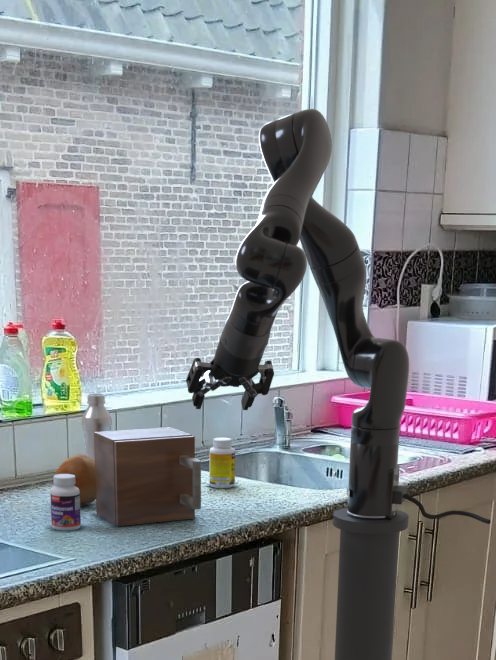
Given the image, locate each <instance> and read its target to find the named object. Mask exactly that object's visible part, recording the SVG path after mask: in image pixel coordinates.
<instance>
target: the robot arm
mask: <svg viewBox="0 0 496 660" xmlns="http://www.w3.org/2000/svg"><path fill="white" fill-rule="evenodd" d="M258 144H259V148H260V152H261V155H262V158H263V161H264V164H265V167H266V169H267V172H268V174H269V176H270V177H271V181H272V182H273V184H272V185H271V186H270V188H268V191H267V192H266V193H265V196H264V197H263V200H262V204H261V207H260V211H259V214H258V219H257V221H256V224H255V226H254V227H253V228H252V229H251V230H250V231H249V232H248V234H247V235H246V236H245V237H244V239H243V240H242V241H241V243H240V244H239V247H238V250H237V252H236V256H235V269H236V271H237V273H238V275H239V276H240V277H241V278H242V279H243V280H245V281H246V282H244V283H243V284H241V285H240V286H239V288H238V290H237V291H236V294H235V298H234V299H233V304H232V306H231V309H230V312H229V314H228V316H227V318H226V320H225V322H224V325H223V328H222V332H221V333H220V337H219V340H218V343H217V346H216V349H215V353H214V357H213V359H212V360H210V361H209V362H204V361H202V359H201V358H200V357H195V358H194V359H193V361H192V364H191V366H190V369H189V371H188V373H187V376H186V379H185V383H186V384H187V391H188V392H187V393H189V394H192V396H191V400H192V405H193V407H195V410H201V409H202V406H203V403H204V400H205V396H206V394H207V393H209V392H214V391H216V390H217V389H218V388H220V387H226V388H227V387H233V388H239V387H240V386H242V388H244V392H243V395H242V397H241V401H240V402H241V408H242V411H248V409H249V408H251V407H252V406H253V404H254V401H255V399H256V397H258V395H262V396H267V395H268V394H269V393H270V392H269V391H270V389H271V386H272V383H273V382H272V381H273V379H274V375H275V370H274V367H273V363H272V361H271V360H265V361H264V363H263V364H261V361H262V359H263V357H264V353H265V351H266V348H267V347H268V345H269V341H270V337H271V331H272V329H273V325H274V323H275V320H276V317H277V315H278V312H279V310H280V309H281V307H282V306H283V304H284V303H285V302H286V301H287V300H288V299H289V298H290V296H292V294H293V293H294V292H295V291H296V290H297V289H298V288H299V286H300V285H301V283H302V281H303V279H304V277H305V275H306V272H307V267H309V269H310V271H311V274H312V277H313V279H314V282H315V284H316V286H317V289H318V292H319V293H320V296H321V299H322V301H323V303H324V306H325V309H326V311H327V315H328V317H329V320H330V323H331V325H332V329H333V332H334V335H335V338H336V342H337V347H338V350H339V353H340V356H341V360H342V363H343V367H344V370H345V372H346V375H347V377H348V378H349V380H350V381H351V383H352V384H355V385H356V386H357V387H360V388H364V389H370V391H369V398H368V401H367V403H366V404H364V405H363V406H361V407H358V408H355V409H354V410H353V411H352V413H351V424H350V425H351V428H350V445H349V447H350V448H349V450H350V451H349V468H348V469H349V470H348V486H347V487H346V493H345V494H346V496H347V503H346V504H347V505H346V506H347V507H348V509H347V515H348V516H351V517H354V518H358V519H366V520H383V519H387V520H391V519H392V518H393V517H394V516H395V515H396V514H397V510H398V505H403V503H404V502H405V501H406V500H407V501H409V502H411V503H413V504H414V505H416V506H417V507H418V509H419V511H420V514H421V515H422V516H423V517H424V518H426V519H427V520H428V519H429V520H437V519H438V520H439V519H442V518H445V517H448V516H453V515H454V516H456V515H457V516H464V517H469V518H472V519H474V520H477V521H478V522H481V523H484V524H487V525H490V524H491V519H489V518H486V517H483V516H481V515H479V514H476V513H473V512H470V511H465V510H448V511H444V512H441V513H438V514H431V513H428V512H426V510H425V508H424V504H423V503H421V501H419V500H418V499H416V498H414V497H413V496H411V495H409V494H408V486H405V485H399V484H400V483H399V482H400V469H401V468H400V465H399V464H398V461H399V447H400V446H399V445H400V430H401V427H400V426H401V419H402V417H403V414H404V412H405V408H406V403H407V393H408V384H409V374H410V357H409V353H408V350H407V348H406V345H404V344H403V343H402V342H401V341H398V340H396V339H391V338H381V337H375V336H374V335H373V332H372V331H371V329H370V326H369V325H368V322H367V318H366V316H365V313H364V296H365V292H366V291H365V290H366V286H367V285H366V284H367V267H366V263H365V260H364V257H363V255H362V252H361V249H360V246H359V243H358V241H357V238H356V236H355V234H354V232H353V231H352V230H351V229H350V228H349V226H347V225H346V224H345V222H343V221H342V220H341V219H339V218H338V217H337V216H336V215H335V214H333V213H331V212H330V211H329V210H328V209H327V208H325V207H324V206H323V205H321V204H320V203H319V202H318V201H317V200H316V199H315V198H314V197H313V195H314V193H315V191H316V189H317V188H318V185H319V183H320V182H321V180H322V177H323V175H324V173H325V172H326V169H327V167H328V165H329V163H330V161H331V157H332V151H333V139H332V134H331V130H330V127H329V125H328V122H327V120H326V117H325V116H324V115H323V113H322V112H321V111H319V110H318V109H316V108H307V109H303V110H300V111H296V112H293V113H291V114H288V115H285V116H283V117H280V118H277V119H274V120H272V121H269V122H267V123H265V124H263V125H262V127H261V128H260V130H259V133H258ZM299 242H300V244H301V245H300V246H301V247H300V246H298V244H299ZM258 374H260V377H259V381H258V382H256V383H255V381H254V379H253V378H255V377H256V376H258Z"/></svg>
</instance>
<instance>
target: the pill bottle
mask: <svg viewBox="0 0 496 660" xmlns="http://www.w3.org/2000/svg"><path fill="white" fill-rule="evenodd" d="M52 478H53V481H52V482H53V485H54V486H53V487H51V489H50V490H49V491H50V515H51V517H50V519H51V528H52V529H54V530H56V531H62V532H63V531H64V532H65V531H66V532H67V531H77V530H78V529H80V528H81V526H82V525H81V524H82V522H81V519H82V518H81V516H82V515H81V506H80V491H79V489H78V488H77V487H75V486H74V484H75V475H72V474H57V475H55V474H54V475H53V477H52Z"/></svg>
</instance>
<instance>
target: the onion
mask: <svg viewBox="0 0 496 660" xmlns="http://www.w3.org/2000/svg"><path fill="white" fill-rule="evenodd" d="M57 474H72V475H75V484H74V486H75V487H77V488H78V489H79V491H80V507H82V506H86V505H89V504H91V503H93V502H94V501H96V481H95V461H94V460H92V459H91V458H89V457H87V456H85V454H83V453H81V454H79V453H78V454H73V455H72V456H70V457H68V458H66V459H65V460H64V461H63V462H61V464H60V465H59V467H58V468H57V470H56V471H55V473H54V475H57Z"/></svg>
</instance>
